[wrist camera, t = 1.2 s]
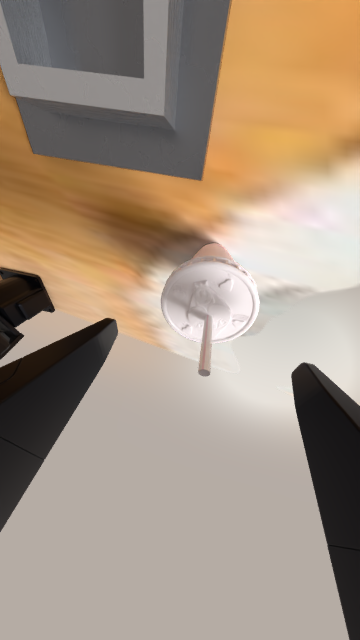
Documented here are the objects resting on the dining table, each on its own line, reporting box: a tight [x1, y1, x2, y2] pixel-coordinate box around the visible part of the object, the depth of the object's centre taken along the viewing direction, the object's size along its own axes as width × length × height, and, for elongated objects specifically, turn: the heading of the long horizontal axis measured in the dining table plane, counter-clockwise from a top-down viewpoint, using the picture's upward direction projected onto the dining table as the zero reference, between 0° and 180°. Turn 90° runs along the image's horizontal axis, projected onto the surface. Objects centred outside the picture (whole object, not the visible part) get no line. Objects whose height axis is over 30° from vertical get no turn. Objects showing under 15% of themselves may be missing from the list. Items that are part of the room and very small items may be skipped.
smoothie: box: [161, 243, 259, 376], centre depth 13 cm, size 6×6×14 cm
